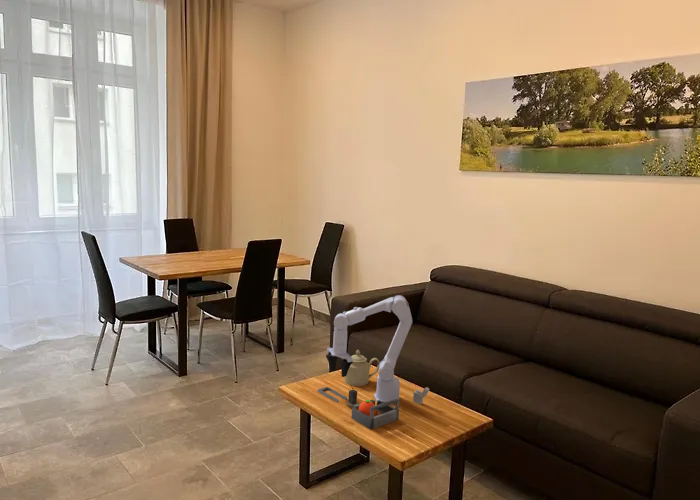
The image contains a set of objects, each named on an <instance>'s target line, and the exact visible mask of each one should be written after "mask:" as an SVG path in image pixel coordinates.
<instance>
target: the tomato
mask: <svg viewBox="0 0 700 500" xmlns="http://www.w3.org/2000/svg"><path fill="white" fill-rule="evenodd" d="M370 400H371V399H366V400H364V401H362V402H360V403H361V404H360V403H359V404H360V406H359V409H358V410H359V411H361V412H363V413H365V414H367V415H368V416H370V407H372V406H376V404H375V405H374V403H372V402H371V401H370ZM376 413H377V409H376V410H374V416H376V415H377V414H376Z"/></svg>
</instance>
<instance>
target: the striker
mask: <svg viewBox="0 0 700 500" xmlns="http://www.w3.org/2000/svg"><path fill="white" fill-rule="evenodd" d="M347 400H348V401H346V406H347V407H348V408H350V409H352V408H356V409H359V406H360V404H361V403H362V402H360V403H358V402H357V401H358V390H356V389H350V390H348V399H347ZM369 400H370V401H371V402H372V403H374V405H375V406H376V399H369Z"/></svg>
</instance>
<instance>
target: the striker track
mask: <svg viewBox="0 0 700 500" xmlns="http://www.w3.org/2000/svg"><path fill="white" fill-rule="evenodd" d="M325 391H329V392H330V393H332V394H334V395H336V396H338V397H340V398H342V399H343V400H348V397H347V396H346V395H345V394H343V393H340V392H339V391H337V390H335V389H333V388H331V387H329V386H324V387H321V388H317V392H318V393H319V392H320V393H319V394H321V395H323V396H324V397H326V398H329V399H330V400H332V401H334V402H336V403H339V401H340V399H339V398H336V397H334V396H333V395H331V394H330V393H327V392H325Z"/></svg>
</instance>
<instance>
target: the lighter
mask: <svg viewBox="0 0 700 500" xmlns="http://www.w3.org/2000/svg"><path fill="white" fill-rule="evenodd" d="M429 391H430V388H429V387H428V386H427V387H424V389H423V391H422V390H420V389H415V391H413V393H412V394H413V396H412V400H413V401H414V402H413V401H412V402H413V403H415V402H416V403H415V404H417V403H418V404H417V405H419V404H421V405H423V403H424V398H425V397H426V396H427V395H428V393H429Z"/></svg>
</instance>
